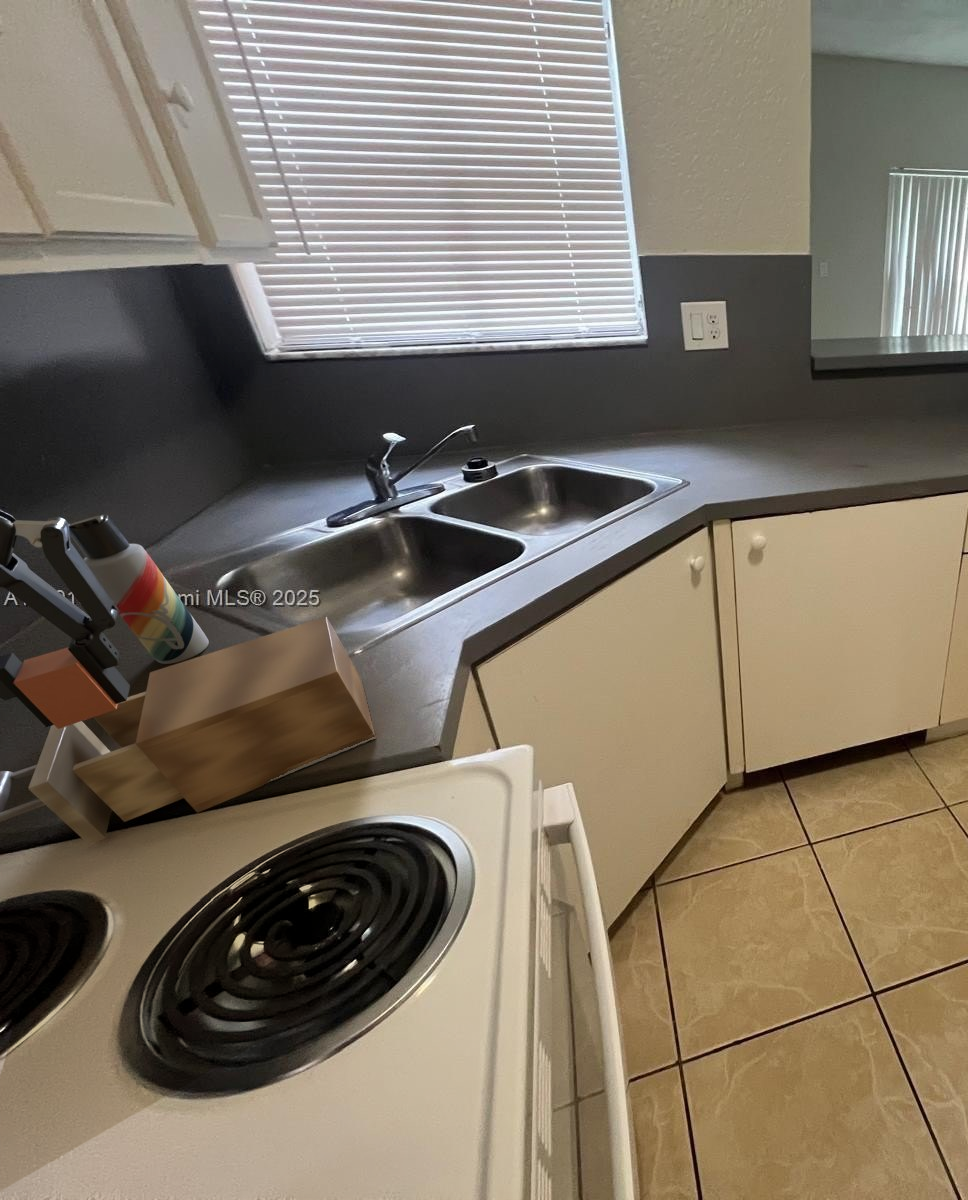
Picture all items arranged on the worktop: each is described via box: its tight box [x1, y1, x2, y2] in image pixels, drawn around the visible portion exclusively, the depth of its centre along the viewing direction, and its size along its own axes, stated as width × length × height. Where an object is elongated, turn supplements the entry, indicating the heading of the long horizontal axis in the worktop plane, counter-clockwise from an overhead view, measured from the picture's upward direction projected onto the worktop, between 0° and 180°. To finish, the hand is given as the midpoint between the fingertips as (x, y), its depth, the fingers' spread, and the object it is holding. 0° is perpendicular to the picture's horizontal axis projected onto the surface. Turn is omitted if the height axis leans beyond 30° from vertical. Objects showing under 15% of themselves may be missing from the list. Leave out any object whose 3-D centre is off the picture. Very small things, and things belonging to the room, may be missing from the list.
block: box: [14, 646, 118, 729], centre depth 57 cm, size 4×4×6 cm
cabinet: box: [136, 616, 376, 814], centre depth 67 cm, size 16×13×10 cm
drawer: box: [0, 691, 184, 845], centre depth 62 cm, size 20×12×8 cm, turn 127°
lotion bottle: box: [68, 513, 210, 665], centre depth 79 cm, size 6×6×20 cm
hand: (89, 705), depth 58 cm, fingers closed on block, 4 cm apart
